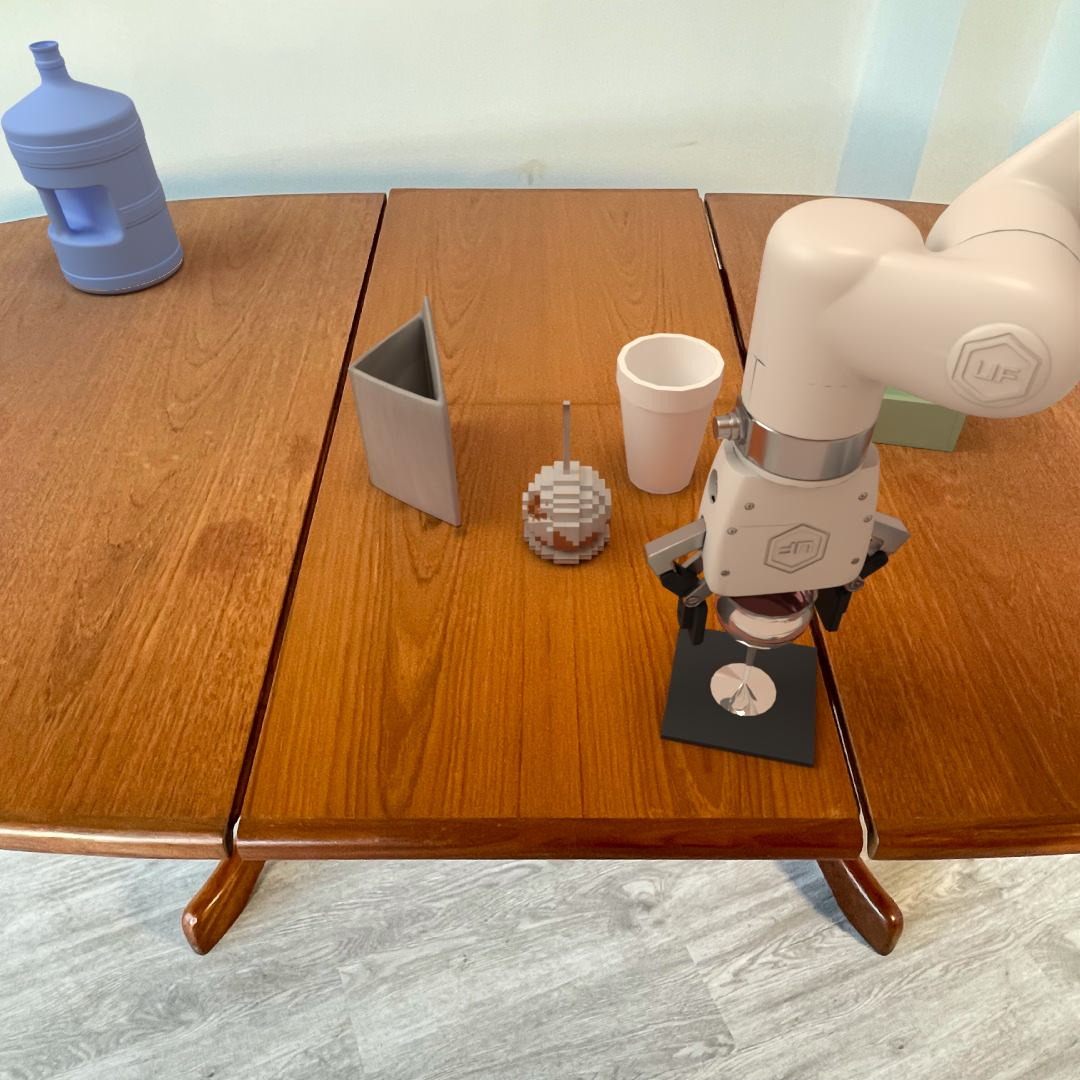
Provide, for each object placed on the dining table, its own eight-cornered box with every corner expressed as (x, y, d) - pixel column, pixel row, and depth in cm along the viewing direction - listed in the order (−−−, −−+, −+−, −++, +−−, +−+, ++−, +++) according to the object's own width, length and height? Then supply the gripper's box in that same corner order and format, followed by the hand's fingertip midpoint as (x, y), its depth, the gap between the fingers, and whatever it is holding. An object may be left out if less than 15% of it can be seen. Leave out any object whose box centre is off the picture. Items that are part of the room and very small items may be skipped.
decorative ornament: (526, 509, 84) (520, 375, 73) (607, 509, 83) (613, 375, 73) (522, 567, 78) (515, 431, 68) (610, 568, 78) (616, 432, 67)
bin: (942, 383, 97) (957, 340, 94) (952, 452, 89) (969, 408, 85) (825, 370, 100) (835, 328, 96) (824, 436, 91) (835, 392, 87)
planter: (366, 435, 93) (331, 263, 79) (440, 424, 94) (419, 253, 80) (377, 539, 81) (339, 358, 68) (462, 526, 82) (441, 345, 69)
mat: (816, 651, 71) (817, 647, 70) (812, 768, 63) (814, 764, 63) (679, 627, 73) (680, 623, 72) (660, 738, 65) (660, 734, 65)
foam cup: (654, 433, 92) (664, 322, 83) (726, 472, 87) (745, 359, 78) (592, 474, 87) (596, 362, 78) (665, 518, 82) (677, 404, 73)
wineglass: (681, 691, 68) (697, 584, 59) (731, 640, 71) (753, 533, 63) (756, 742, 64) (785, 636, 56) (805, 686, 68) (838, 578, 59)
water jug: (140, 234, 129) (64, 19, 110) (209, 262, 122) (141, 37, 103) (43, 277, 120) (-58, 51, 101) (112, 309, 113) (18, 73, 94)
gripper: (667, 482, 47) (648, 678, 59) (978, 455, 48) (897, 652, 60) (641, 402, 52) (628, 596, 64) (921, 379, 54) (857, 574, 65)
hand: (758, 623), depth 62 cm, fingers open, 9 cm apart
